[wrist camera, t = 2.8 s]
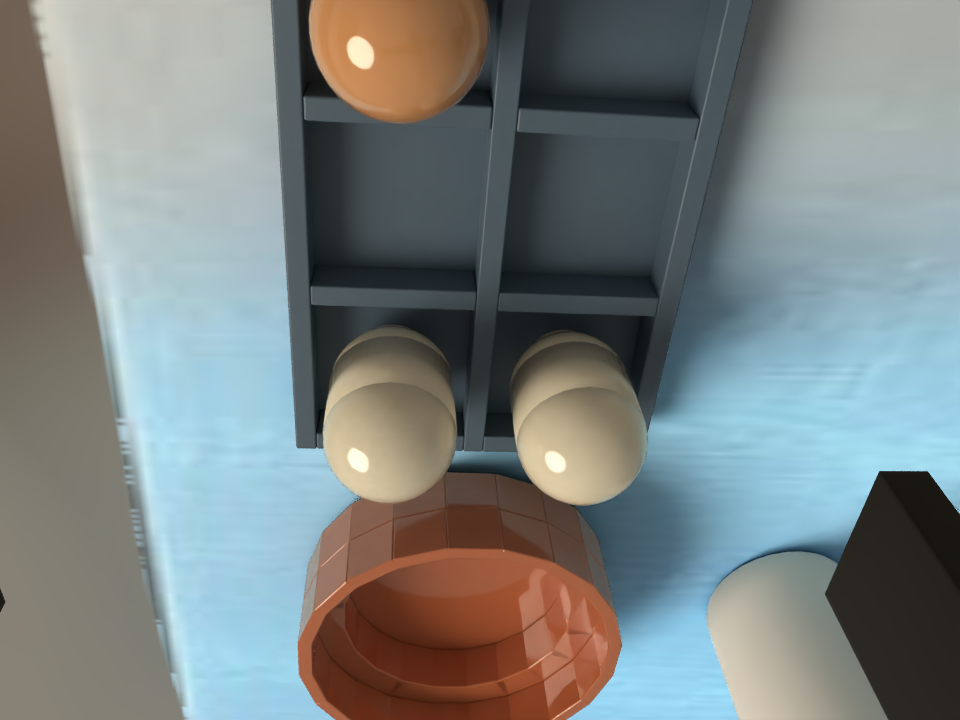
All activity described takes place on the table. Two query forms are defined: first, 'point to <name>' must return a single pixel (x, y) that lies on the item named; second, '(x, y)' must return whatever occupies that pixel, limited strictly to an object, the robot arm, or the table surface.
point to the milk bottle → (787, 643)
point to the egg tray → (506, 197)
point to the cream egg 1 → (390, 415)
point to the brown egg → (400, 54)
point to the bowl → (458, 607)
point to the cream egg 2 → (576, 419)
